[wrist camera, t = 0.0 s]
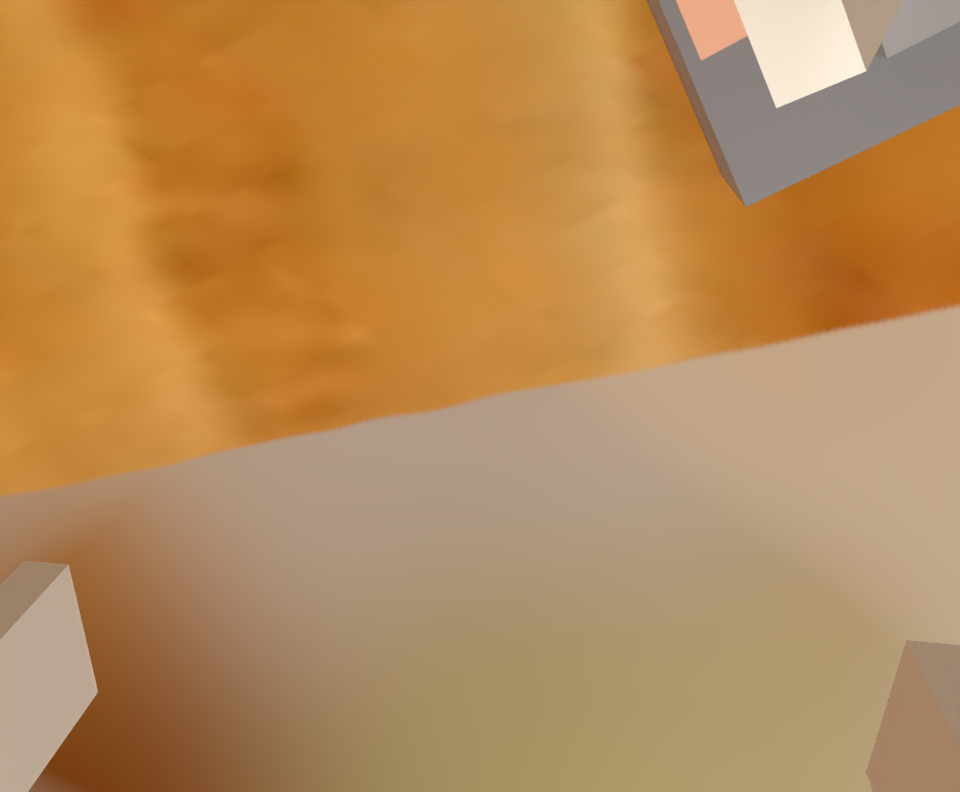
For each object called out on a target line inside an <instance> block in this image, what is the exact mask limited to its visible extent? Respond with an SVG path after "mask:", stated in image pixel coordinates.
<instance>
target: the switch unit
mask: <svg viewBox="0 0 960 792" xmlns="http://www.w3.org/2000/svg"><path fill="white" fill-rule="evenodd" d="M647 2H648V4H649V6H650V9H651V11H652V13H653V16H654V18H655V20H656V23H657V25H658V27H659V30H660V32H661V34H662V37H663V39H664V41H665V44H666V46H667V48H668V51H669V53H670V55H671V58H672V60H673V62H674V65H675V67H676V69H677V72H678V74H679V76H680V79H681V81H682V83H683V86H684V88H685V90H686V93H687V95H688V97H689V100H690V102H691V104H692V107H693V109H694V111H695V114H696V116H697V118H698V121H699V123H700V125H701V128H702V130H703V132H704V135H705V137H706V139H707V142H708V144H709V146H710V149H711V151H712V153H713V156H714V158H715V160H716V163H717V165H718V167H719V170H720V172H721V174H722V177H723V178H724V179H725V181H726V182H727V183H728V184H729V186H730V187H731V188H732V190H733V191H734V192H735V193H736V195H737V196H738V197H739V199H740V200H741V201H742V202H743V204H744V205H745V206H746V207H747V206H749V205H751V204H753V203H755V202H757V201H759V200H762V199H764V198H766V197H768V196H770V195H772V194H774V193H776V192H778V191H780V190H782V189H785V188H787V187H789V186H791V185H793V184H795V183H797V182H799V181H801V180H803V179H806V178H808V177H810V176H812V175H814V174H816V173H818V172H820V171H822V170H824V169H826V168H829V167H831V166H833V165H835V164H837V163H839V162H841V161H843V160H845V159H847V158H850V157H852V156H854V155H856V154H858V153H860V152H862V151H864V150H866V149H868V148H870V147H873V146H875V145H877V144H879V143H881V142H883V141H885V140H887V139H889V138H891V137H894V136H896V135H898V134H900V133H902V132H904V131H906V130H908V129H910V128H912V127H914V126H917V125H919V124H921V123H923V122H925V121H927V120H929V119H931V118H933V117H935V116H938V115H940V114H942V113H944V112H946V111H948V110H950V109H952V108H954V107H956V106H958V105H960V0H904V2H903V4H902V6H901V8H900V10H899V11H898V13H897V15H896V17H895V19H894V21H893V23H892V24H891V26H890V28H889V30H888V32H887V34H886V36H885V37H884V39H883V41H882V43H881V45H880V47H879V49H878V50H877V52H876V54H875V56H874V58H873V60H872V62H871V63H870V65H869V67H868V69H867V71H866V72H863V73H861V74H858V75H856V76H854V77H851V78H849V79H846V80H844V81H841V82H839V83H837V84H834V85H832V86H829V87H827V88H824V89H822V90H819V91H817V92H815V93H812V94H810V95H807V96H805V97H802V98H800V99H798V100H795V101H793V102H790V103H788V104H785V105H783V106H781V107H778V108H776V106H775V104H774V101H773V99H772V96H771V94H770V91H769V88H768V86H767V83H766V81H765V78H764V76H763V73H762V71H761V68H760V66H759V63H758V60H757V58H756V55H755V53H754V50H753V48H752V45H751V43H750V40H749V38H748V35H747V32H746V30H745V27H744V25H743V22H742V20H741V17H740V15H739V12H738V10H737V7H736V5H735V2H734V0H647Z"/></svg>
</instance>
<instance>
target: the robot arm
mask: <svg viewBox="0 0 960 792" xmlns="http://www.w3.org/2000/svg"><path fill="white" fill-rule="evenodd" d="M97 693H98V691H97V686H96V681H95V677H94V673H93V669H92V664H91V660H90V655H89V651H88V647H87V642H86V638H85V634H84V630H83V625H82V621H81V617H80V613H79V608H78V604H77V600H76V595H75V591H74V586H73V582H72V578H71V574H70V569H69V565H65V564H55V563H44V562H33V561H23V563H22V564H20V565H19V567H18V568H16V569H15V571H13V572H12V573H11V574H10V575H9V576H8V577H7V578H6V579H5V580H4V582H2V584H1V585H0V792H28V791H29V789H30V788H31V786H32V785H33V783H34V782H35V781H36V779H37V778H38V776H39V775H40V774H41V772H42V771H43V769H44V768H45V767H46V765H47V764H48V762H49V761H50V759H51V758H52V757H53V755H54V754H55V752H56V751H57V749H58V748H59V747H60V745H61V744H62V742H63V741H64V739H65V738H66V737H67V735H68V734H69V732H70V731H71V730H72V728H73V726H74V725H75V724H76V722H77V721H78V720H79V718H80V717H81V715H82V714H83V712H84V711H85V710H86V708H87V707H88V705H89V704H90V703H91V701H92V700H93V698H94V697H95V695H96V694H97ZM866 774H867V776H868V779H869V782H870V785H871V787H872V790H873V792H960V645H951V644H939V643H928V642H918V641H906V644H905V647H904V650H903V654H902V657H901V660H900V664H899V667H898V670H897V673H896V677H895V680H894V683H893V686H892V689H891V693H890V696H889V699H888V702H887V706H886V709H885V712H884V716H883V719H882V722H881V725H880V729H879V732H878V735H877V739H876V742H875V745H874V749H873V751H872V755H871V758H870V761H869V764H868V768H867V771H866Z"/></svg>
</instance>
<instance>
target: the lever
mask: <svg viewBox="0 0 960 792" xmlns="http://www.w3.org/2000/svg"><path fill="white" fill-rule="evenodd" d="M734 2H735V5H736V7H737V10H738V12H739V15H740V17H741V20H742V22H743V25H744V27H745V30H746V32H747V35H748V38H749V40H750V43H751V45H752V48H753V50H754V53H755V55H756V58H757V60H758V63H759V66H760V68H761V71H762V73H763V76H764V78H765V81H766V83H767V86H768V88H769V91H770V94H771V96H772V99H773V101H774V104H775V106H776V108H778V107H781V106H783V105H785V104H788V103H790V102H793V101H795V100H798V99H800V98H802V97H805V96H807V95H810V94H812V93H815V92H817V91H819V90H822V89H824V88H827V87H829V86H832V85H834V84H837V83H839V82H841V81H844V80H846V79H849V78H851V77H854V76H856V75H858V74H861V73H863V72H866V71H867V69H868V67H869V65H870V63H871V62H872V60H873V58H874V56H875V54H876V52H877V50H878V49H879V47H880V45H881V43H882V41H883V39H884V37H885V36H886V34H887V32H888V30H889V28H890V26H891V24H892V23H893V21H894V19H895V17H896V15H897V13H898V11H899V10H900V8H901V6H902V4H903V2H904V0H734Z"/></svg>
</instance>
